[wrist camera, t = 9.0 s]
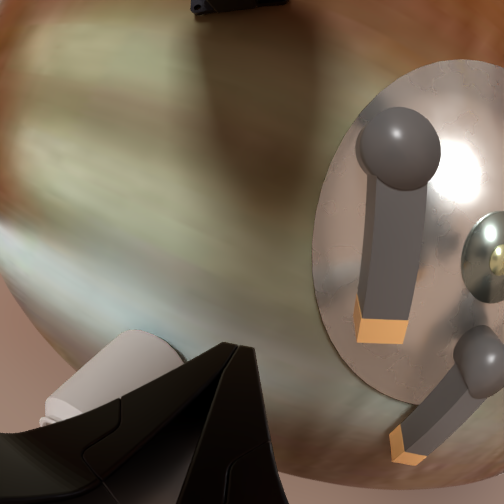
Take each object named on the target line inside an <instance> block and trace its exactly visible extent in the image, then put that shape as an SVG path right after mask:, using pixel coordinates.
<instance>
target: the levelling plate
mask: <svg viewBox="0 0 504 504" xmlns="http://www.w3.org/2000/svg"><path fill="white" fill-rule="evenodd" d="M392 107H405V108H410V109H412V110H415V111H417V112H419V113H420V114H422V115H423V116H424V117H425V118H426V119H427V120H428V121H429V122H430V123H431V124H432V126H433V127H434V129H435V130H436V132H437V135H438V137H439V140H440V145H441V160H440V164H439V167H438V169H437V171H436V173H435V175H434V176H433V177H432V178H431V180H430V181H428V185H427V201H426V213H425V223H424V232H423V240H422V247H421V254H420V261H419V267H418V273H417V279H416V284H415V290H414V295H413V299H412V304H411V309H410V313H409V318H408V320H409V321H408V326H407V330H406V334H405V337H404V341H403V344H379V343H357V341H356V333H355V326H354V319H353V313H354V306H355V299H356V294H357V291H358V283H359V275H360V267H361V258H362V248H363V237H364V224H365V210H366V191H367V175H366V174H365V173H364V171H363V170H362V169H361V167H360V165H359V163H358V161H357V158H356V153H355V144H356V139H357V136H358V134H359V132H360V131H361V129H362V128H363V127H364V126H365V125H366V124H367V123H368V122H369V121H370V120H371V119H373V118H374V117H375V116H376V115H377V114H378V113H379V112H381V111H383V110H385V109H388V108H392ZM312 273H313V280H314V287H315V295H316V299H317V303H318V307H319V310H320V314H321V318H322V321H323V323H324V325H325V328H326V330H327V332H328V335H329V337H330V339H331V341H332V343H333V344H334V346H335V348H336V349H337V351H338V353H339V354H340V356H341V357H342V359H343V360H344V361H345V362H346V363H347V365H348V366H349V367H350V368H351V369H352V371H353V372H354V373H355V374H357V375H358V376H359V377H360V378H361V379H362V380H363V381H365V382H366V383H367V384H368V385H370V386H371V387H373V388H375V389H376V390H378V391H379V392H381V393H383V394H385V395H387V396H390V397H392V398H394V399H397V400H400V401H403V402H407V403H411V404H416V405H420V404H421V402H422V401H423V400H424V399H425V398H426V397H427V396H428V395H429V394H430V393H431V391H432V390H433V389H434V388H435V387H436V386H437V384H438V383H439V382H440V381H441V380H442V379H443V377H444V376H445V375H446V374H447V372H448V371H449V370H450V369H451V367H452V366H453V365H454V364H455V362H454V359H453V351H454V348H455V345H456V343H457V342H458V340H459V339H460V338H461V336H462V335H463V334H464V333H465V332H467V331H468V330H469V329H471V328H473V327H475V326H479V325H486V326H489V327H490V328H491V329H492V330H493V331H494V333H495V334H496V335H497V337H498V338H499V339H500V340H501V342H502V343H503V344H504V68H502V67H500V66H497V65H493V64H489V63H486V62H482V61H474V60H462V59H460V60H449V61H440V62H437V63H433V64H430V65H426V66H423V67H420V68H418V69H416V70H414V71H412V72H410V73H408V74H406V75H404V76H402V77H400V78H398V79H397V80H396V81H394V82H393V83H392V84H390V85H389V86H388V87H386V88H385V89H384V90H382V91H381V92H380V93H379V94H378V95H377V96H376V97H375V98H374V99H373V100H372V101H371V102H370V103H369V104H368V105H367V106H366V107H365V108H364V109H363V110H362V112H361V113H360V114H359V116H358V117H357V118H356V120H355V121H354V123H353V124H352V126H351V127H350V128H349V130H348V131H347V133H346V134H345V135H344V137H343V139H342V141H341V143H340V145H339V147H338V149H337V151H336V153H335V155H334V156H333V158H332V160H331V163H330V166H329V168H328V171H327V174H326V177H325V179H324V182H323V185H322V188H321V193H320V197H319V201H318V205H317V210H316V214H315V222H314V232H313V240H312Z"/></svg>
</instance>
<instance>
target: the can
mask: <svg viewBox="0 0 504 504" xmlns="http://www.w3.org/2000/svg"><path fill="white" fill-rule="evenodd" d="M182 364H184V363H183V361H182V360H181V358H180V357H179V355H178V354H177V352H176V351H175V350H174V349H173V348H172V347H171V346H170V345H169V344H168V343H167V342H165V341H164V340H162V339H161V338H159V337H157V336H155V335H153V334H151V333H148V332H145V331H142V330H127V331H125V332H122V333H121V334H119V335H118V336H117V337H116V338H115V339H114V340H112V341H111V342H110V343H109V344H108V345H107V346H106V347H104V348H103V349H102V350H101V351H100V352H99V353H98V354H96V355H95V356H94V357H93V358H92V359H91V360H90V361H89V362H87V363H86V364H85V365H84V366H83V367H82V368H81V369H80V370H78V371H77V372H76V373H75V374H74V375H73V376H72V377H71V378H69V380H67V381H66V382H65V383H64V384H63V385H62V386H61V387H59V388H58V389H57V390H56V391H55V392H54V393H53V394H52V395H51V396H50V397H48V399H47V401H46V402H45V414H46V417H42V418H41V419H40V421H39V422H40V426H41V427H43V426H46V425H49V424H53V423H56V422H59V421H62V420H65V419H68V418H71V417H74V416H77V415H80V414H82V413H85V412H88V411H90V410H92V409H95V408H97V407H99V406H102V405H104V404H106V403H108V402H110V401H112V400H114V399H116V398H120V399H121V396H123V395H125V394H127V393H129V392H131V391H133V390H135V389H137V388H139V387H141V386H143V385H145V384H146V383H148V382H150V381H152V380H154V379H156V378H158V377H160V376H162V375H164V374H166V373H167V372H169V371H171V370H173V369H175V368H177V367H179V366H180V365H182Z"/></svg>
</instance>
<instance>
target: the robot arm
mask: <svg viewBox="0 0 504 504" xmlns="http://www.w3.org/2000/svg"><path fill="white" fill-rule="evenodd" d="M288 1H289V0H191V8H190V9H191V11H192V13H194V14H195V15H202V14H207V13H213V12H218V13H220V12H227V11H234V10H241V9H250V8H255V7H258V6H270V5H283V4H286V3H287V2H288ZM198 7H201V8H200V9H199V10H196V9H197V8H198ZM0 504H289V503H288V500H287V498H286V495H285V492H284V489H283V487H282V483H281V480H280V477H279V474H278V470H277V466H276V462H275V458H274V453H273V447H272V443H271V438H270V432H269V427H268V421H267V416H266V410H265V405H264V399H263V393H262V388H261V382H260V376H259V371H258V365H257V359H256V353H255V349H254V348H253V347H248V346H243V345H240V346H238V345H237V344H232V343H227V342H222V343H220V344H218V345H216V346H215V347H213V348H211V349H209V350H208V351H206V352H204V353H202V354H200V355H199V356H197V357H195V358H193V359H191V360H190V361H188V362H186V363H184V364H182V365H180V366H179V367H177V368H175V369H173V370H171V371H169V372H167V373H166V374H164V375H162V376H160V377H158V378H156V379H154V380H152V381H150V382H148V383H146V384H145V385H143V386H141V387H139V388H137V389H135V390H133V391H131V392H129V393H127V394H125V395H123V396H121V399H120V398H116V399H114V400H112V401H110V402H108V403H106V404H104V405H102V406H99V407H97V408H95V409H92V410H90V411H88V412H85V413H82V414H80V415H77V416H74V417H71V418H68V419H65V420H62V421H59V422H56V423H53V424H49V425H46V426H43V427H39V428H36V429H32V430H29V431H25V432H20V433H0Z"/></svg>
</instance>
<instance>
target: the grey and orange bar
mask: <svg viewBox="0 0 504 504" xmlns="http://www.w3.org/2000/svg"><path fill="white" fill-rule="evenodd" d="M453 359H454V362H455V364H454V365H453V366H452V367H451V369H450V370H449V371H448V372H447V374H446V375H445V376H444V377H443V379H442V380H441V381H440V382H439V383H438V384H437V386H436V387H435V388H434V389H433V390H432V391H431V393H430V394H429V395H428V396H427V397H426V398H425V399H424V400H423V401H422V402H421V404H420V405H419V406H418V407H417V408H416V409H415V410H414V411H413V412H412V413H411V414H410V415H409V416H408V417H407V418H406V419H405V420H404V421H403V422H402V423H401V424H399V425H398V426H397V427H396V428H395V429H394V430H393V431H392V432H391V433H390V434H389V438H390V446H391V456H392V462H397V463H402V464H407V465H413V466H416V465H417V464H418V463H420V462H421V461H422V460H423V459H425V458H426V457H427V456H428V455H429V454H430V453H431V452H433V451H434V450H435V449H436V448H437V447H438V446H440V445H441V444H442V443H443V442H444V441H445V440H446V439H447V438H448V437H449V436H451V435H452V434H453V433H454V432H455V431H456V430H457V429H458V428H459V427H460V426H461V425H462V424H463V423H464V422H465V421H466V420H467V419H468V418H469V417H470V416H471V415H472V414H473V413H474V412H475V411H476V410H477V409H478V407H479V406H480V405H481V404H482V403H483V402H484V401H485V400H486V399H487V397H490V396H492V395H494V394H495V393H497V392H498V391H499V390H501V389H502V388H503V387H504V344H503V343H502V342H501V340H500V339H499V338H498V337H497V335H496V334H495V333H494V331H493V330H492V329H491V328H490V327H489V326H486V325H479V326H475V327H473V328H471V329H469V330H468V331H467V332H465V333H464V334H463V335H462V336H461V338H460V339H459V340H458V342H457V343H456V345H455V348H454V351H453Z"/></svg>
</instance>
